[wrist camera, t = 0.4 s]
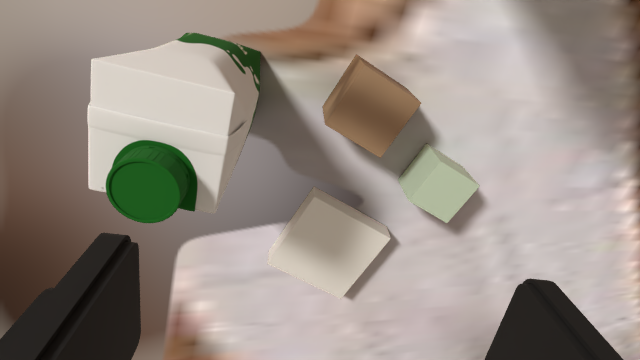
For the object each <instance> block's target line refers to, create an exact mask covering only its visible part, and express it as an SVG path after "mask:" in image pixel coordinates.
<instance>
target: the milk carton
mask: <svg viewBox="0 0 640 360" xmlns="http://www.w3.org/2000/svg"><path fill="white" fill-rule="evenodd" d="M260 54H261V52H260V51H257V50H254V49H251V48H248V47H245V46H242V45H239V44H236V43H233V42H230V41H226V40H222V39H218V38H214V37H210V36H206V35H202V34H198V33H186V34H184V35H183V36H182V37H181V38H179V39H177V40H174V41H172V42H169V43H166V44H164V45H162V46H159V47H156V48H152V49H147V50H141V51H136V52H130V53H125V54H119V55H114V56H108V57H102V58H96V59H92V60H91V102H90V104H89V105H88V126H89V131H88V138H89V139H88V140H89V141H88V142H89V143H88V144H89V145H88V152H89V153H88V155H89V156H88V160H89V161H88V169H89V170H88V172H89V174H88V177H89V189H92V190H96V191H102V192H106V193H107V196H108V198H109V200H110V202H111V203H112V205H113V206H114V207H115V208H116V209H117V210H118V211H119V212H120V213H121V214H123V215H124V216H126V217H127V218H129V219H132V220H134V221H137V222H142V223H156V222H160V221H163V220H165V219H167V218H169V217H170V216H172V215H173V214H174V212H176V210H177V209H178V208H180V209H184V210H189V211H195V210H199V211H203V212H208V213H215V212H216V210H217V207H218V205H219V203H220V200H221V198H222V196H223V194H224V191H225V189H226V187H227V184H228V182H229V180H230V177H231V175H232V172H233V170H234V168H235V165H236V163H237V161H238V158H239V156H240V153H241V150H242V148H243V146H244V143H245V141H246V138H247V136H248V133H249V130H250V128H251V125H252V122H253V119H254V115H255V111H256V107H257V102H258V97H259V91H260Z"/></svg>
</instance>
